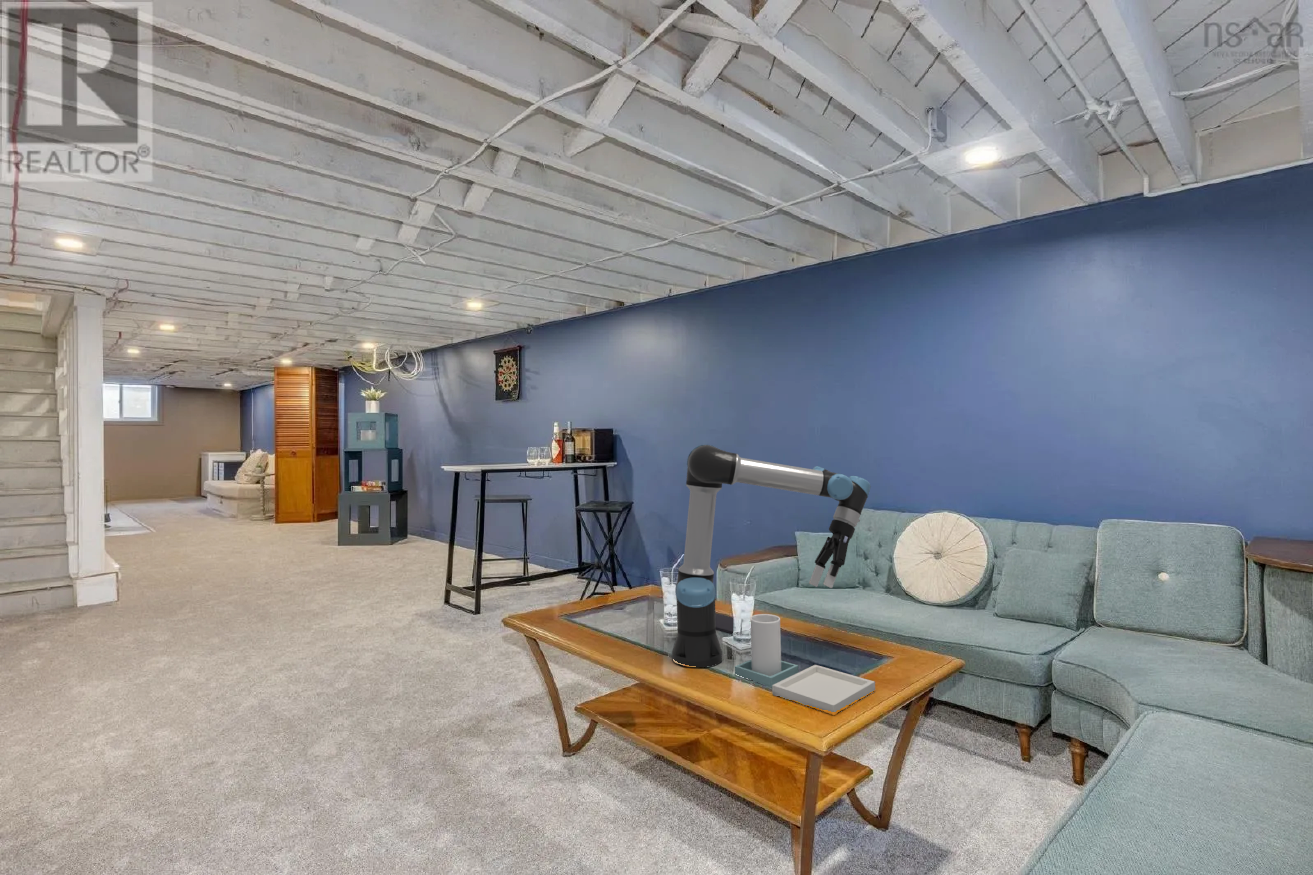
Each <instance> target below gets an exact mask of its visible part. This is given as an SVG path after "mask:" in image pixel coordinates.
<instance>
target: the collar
mask: <svg viewBox="0 0 1313 875" xmlns="http://www.w3.org/2000/svg"><path fill="white" fill-rule="evenodd" d="M797 673H799V665H798V664H794V663H791V662H788V661H785V660H784V661H783V660H781V672H779V673H777V674H775V675H773V676H767V675H764V674H761V673H758V672H755V671H752V661H751V659H749V660H747V661H745V662H744V661H743V662H742V663H738V664H737V665H734V675H735V674H737V675H739V676H742V677H744V678H743V679H745V678H748V679H751V680H753V681H752V682H754V681H755V682H754V683H757V682H758V683H757V684H760V683H761V684H760V685H764V686H766V687H770V688H772V685H774V684H776V683H778V682H780V681H782V680H784V679H786V678H788V677H790V676H792V675H795V674H797ZM739 676H738V677H739ZM742 677H741V678H742ZM748 679H747V680H748ZM751 680H750V681H751Z"/></svg>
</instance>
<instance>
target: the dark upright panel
mask: <svg viewBox="0 0 1313 875" xmlns="http://www.w3.org/2000/svg"><path fill="white" fill-rule="evenodd" d="M715 616H716V631H719V632H722V633H726V634H729V635H732V633H733V618H734V617H732V616H728V615H724V614H720V613H716V612H715Z"/></svg>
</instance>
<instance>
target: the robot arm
mask: <svg viewBox="0 0 1313 875" xmlns="http://www.w3.org/2000/svg"><path fill="white" fill-rule="evenodd" d="M686 465H687V469H686V470H687V472H686V480H685V481H686V482H685V486H686V488H688V490H689V501H688V510H687V511H688V512H687V520H686V521H687V522H686V533H685V543H684V554H683V564H681V566H680V567H678V569H677V577H676V578H677V579H676V580H677V581H676V585H675V597H676V598H675V600H676V621H677V622H676V624H677V626H676V627H677V628H676V630H677V634H676V638H675V642H674V645H673V649H672V652H671V653H672V654H671V656H672V657H671V659H672V658H673V659H674V660H675V661H677V662H678V663H681V664H685V665H689V666H696V667H705V668H708V667H707V666H711V667H713V666H712V665H714V666H716V665H715V664H717V665H719V664H721V663H722V662H723V650H722V647H721V644H720V641H719V639H718V638H719V637H718V635H717V630H716V616H715V613H716V593H717V591H716V588H715V584H714V578H715V571H714V570H713V569H712V567H711V560H712V547H713V546H712V545H713V536H714V527H715V526H714V524H715V513H716V503H717V493H718V492H720V491H721V490H722V489H723V484H724V485H730V486H733V485H735V484H737V483H740V484H746V485H752V486H759V487H764V488H771V489H777V490H782V491H788V492H793V493H794V492H795V493H799V494H800V493H801V494H808V495H812V496H813V495H814V496H820V497H826V498H829V499H833V500H835V501H838V504H837V507H836V508H835V511H834V514H833V517H832V518H833V519H832V520H831V522H830V524H829V527H828V531H829V532H830V533H832V535H831V537H830V536H828V537H827V538H826V540H825V542H824V544H823V545H822V548H821V550H820V552H819V553H818V555H817V557H816V558H815V560H814V563H815V567H814V568H813V572H812V573H811V577H810V579H809V582H808V584H809V585H812V586H813V587H816V588H817V587H818V585H819V583H820V581H821V578H822V576H823V573H824V571H825V570H826V564H827V563H828V562H829V560H830V558H831V557H832V560H831V561H830V562H829V563H830V565H829V568H828V571H827V572H826V575H825V578H824V581H823V584H822V585H823V586H825V587H828V588H830V589H833V587H834V584H835V581H836V579H837V576H838V574H839V571H840V568H842V567H843V566H844V565H845V563H846V559H847V552H848V548H849V547H848V546H849V543H850V540H851V539H852V538H853V536H854V533H855V531H856V527H857V525H858V523H859V522H860V521H861V520H860V518H861V515H862V511H863V509H864V508H865V504H866V502H867V500H868V498H869V495H870V490H871V487H872V486H871V483H870V482H869V480H867V479H865V478H863V477H860V476H855V475H851V476H847V475H846V474H842V473H839V472H838V473H837V472H833V471H830V470H829V469H826V468H823V467H821V466H813V468H812V469H811V468H805V467H801V466H792V465H788V464H781V463H776V462H775V463H774V462H771V461H770V462H768V461H764V460H757V459H752V458H747V457H746V458H745V457H741V456H740V455H739V454H738V453H735V452H730V451H726V450H723V449H721V448H720V449H719V448H718V447H716V446H713V445H710V444H701V445H698V446H696V447H694V448H693V449H692V450H691V451H690V452H689V454H688V456H687V459H686ZM824 569H825V570H824Z"/></svg>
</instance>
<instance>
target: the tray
mask: <svg viewBox="0 0 1313 875" xmlns="http://www.w3.org/2000/svg"><path fill="white" fill-rule="evenodd" d="M771 689H772V692H771V693H772V694H773V695H772V696H775V697H777V696H780V697H783V698H785V699H784V700H786V699H789V700H795V701H798V702H800V703H802V704H804V705H809V706H812V707H816V708H819V709H822V710H828V711H831V712H836V711H837V710H840V709H841V708H843V707H845V706H846V705H849V704H851V703H852V702H854V701H855V700H858V699H860V698H861V697H863V696H866V695H867V694H869V693H870V692H872V691H874V690H875V691H876V681H875V680H870V679H868V678H867V679H866V678H863V677H860V676H856V675H852V674H850V673H845V672H842V671H840V670H839V671H838V670H836V669H831V668H828V667H824V666H820V665H817V664H814V665H812V666H810V667H807V668H805V669H803V670H800V671H798V673H797V674H795V675H792V676H790V677H788V678H786V679H784V680H782V681H780V682H778V683H776V684H774V685H772V687H771ZM780 697H779V698H780ZM866 697H867V696H866ZM783 698H782V699H783ZM789 700H788V701H789ZM804 705H803V706H804Z"/></svg>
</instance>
